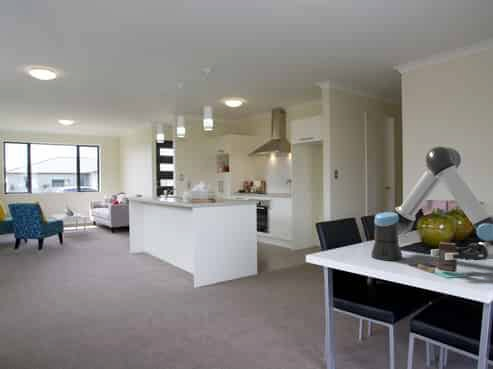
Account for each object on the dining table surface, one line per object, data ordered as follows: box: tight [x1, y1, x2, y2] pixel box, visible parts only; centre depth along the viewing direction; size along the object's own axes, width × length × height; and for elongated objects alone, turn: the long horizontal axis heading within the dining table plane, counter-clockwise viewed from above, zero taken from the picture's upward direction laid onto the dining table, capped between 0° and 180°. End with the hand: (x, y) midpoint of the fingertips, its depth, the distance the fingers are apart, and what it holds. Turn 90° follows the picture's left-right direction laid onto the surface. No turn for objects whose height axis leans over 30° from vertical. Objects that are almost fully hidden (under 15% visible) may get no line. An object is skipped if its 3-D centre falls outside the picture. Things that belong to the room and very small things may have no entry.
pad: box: [432, 271, 469, 279], centre depth 148 cm, size 8×11×1 cm
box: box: [438, 241, 458, 272], centre depth 150 cm, size 6×4×12 cm
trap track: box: [408, 262, 439, 274], centre depth 159 cm, size 15×11×2 cm
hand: (438, 254), depth 148 cm, fingers closed on box, 7 cm apart
